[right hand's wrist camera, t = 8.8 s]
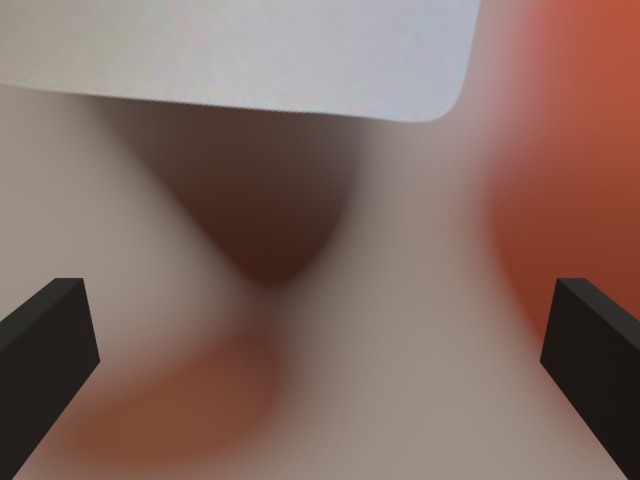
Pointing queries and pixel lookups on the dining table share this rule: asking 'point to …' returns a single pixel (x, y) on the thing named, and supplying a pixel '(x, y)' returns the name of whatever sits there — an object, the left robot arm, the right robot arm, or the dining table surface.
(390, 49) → the dining table surface
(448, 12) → the dining table surface
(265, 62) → the dining table surface
